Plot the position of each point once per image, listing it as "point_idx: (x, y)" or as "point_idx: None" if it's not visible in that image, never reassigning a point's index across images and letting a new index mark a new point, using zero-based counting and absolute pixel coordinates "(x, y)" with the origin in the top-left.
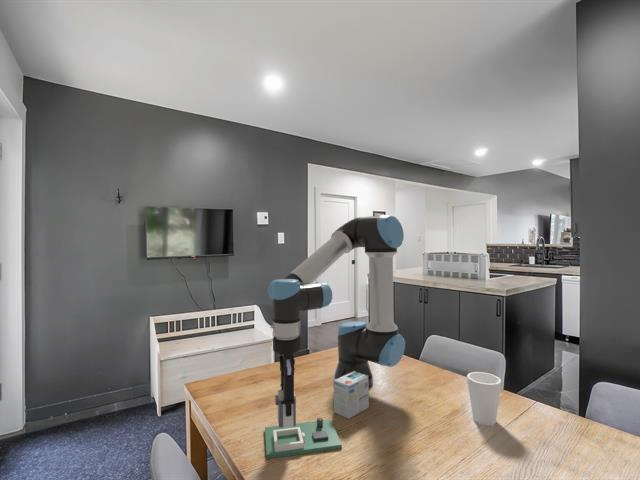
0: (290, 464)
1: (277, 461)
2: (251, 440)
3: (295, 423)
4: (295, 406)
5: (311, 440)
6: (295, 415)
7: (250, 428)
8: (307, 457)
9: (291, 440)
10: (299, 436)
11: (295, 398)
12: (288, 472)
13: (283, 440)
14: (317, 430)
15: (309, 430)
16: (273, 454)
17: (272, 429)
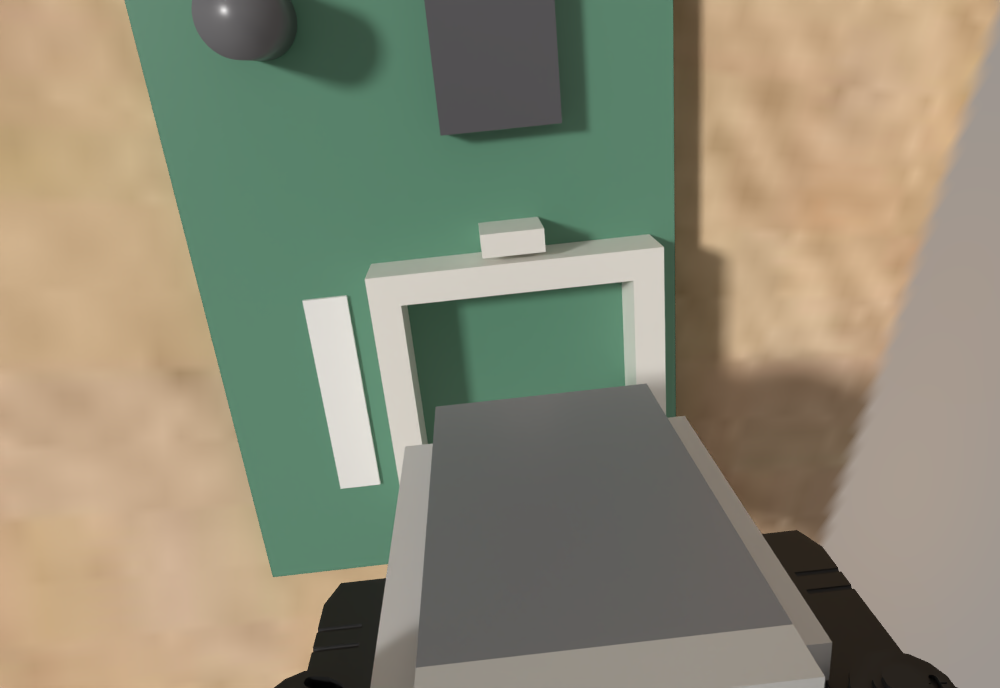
0: (776, 341)
1: (715, 437)
2: None
3: (656, 400)
4: (729, 530)
5: (535, 148)
6: (687, 451)
7: (241, 661)
8: (722, 196)
9: (508, 346)
10: (548, 287)
11: (794, 639)
12: (862, 354)
13: None
14: (349, 61)
15: (346, 158)
16: None
17: (311, 514)
